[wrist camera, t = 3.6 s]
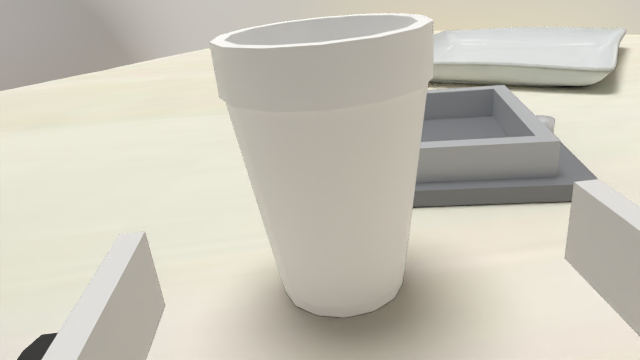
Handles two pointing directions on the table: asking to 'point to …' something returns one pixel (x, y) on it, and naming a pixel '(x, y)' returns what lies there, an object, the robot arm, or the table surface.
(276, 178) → the foam cup
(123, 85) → the table surface
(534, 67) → the square plate
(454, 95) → the tray
